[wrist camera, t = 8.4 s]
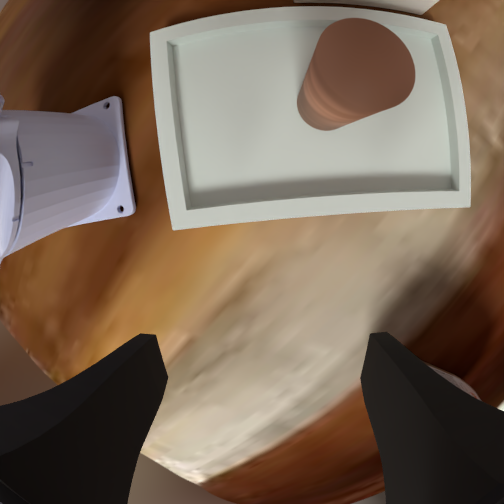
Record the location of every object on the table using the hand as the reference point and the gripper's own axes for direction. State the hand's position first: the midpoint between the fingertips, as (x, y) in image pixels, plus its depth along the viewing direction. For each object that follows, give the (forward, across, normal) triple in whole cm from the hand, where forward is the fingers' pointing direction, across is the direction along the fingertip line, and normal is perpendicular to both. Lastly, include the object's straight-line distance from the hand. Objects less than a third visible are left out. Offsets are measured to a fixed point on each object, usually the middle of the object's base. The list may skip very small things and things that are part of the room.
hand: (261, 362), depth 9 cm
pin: (+8, -3, -9) cm, 13 cm away
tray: (+9, -3, -9) cm, 14 cm away
